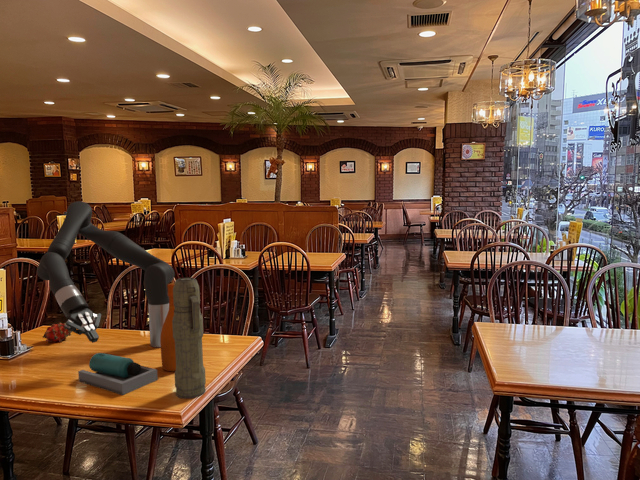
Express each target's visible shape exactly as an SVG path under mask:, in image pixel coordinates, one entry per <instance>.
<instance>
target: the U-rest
mask: <svg viewBox="0 0 640 480" xmlns="http://www.w3.org/2000/svg"><path fill="white" fill-rule="evenodd" d="M140 366H141V371H140V373H139V374H138V375H136V376H131V375H130V376H128V377H126V378H123V377H119V376H115V375H109V374H104V373H103V374H102V373H99V372H93V371H92V372H91V371H88V370H85V369H82V370H78V374H77V375H78V382H79V383H81V384H85V385H89V386H92V387H95V388H98V389H102V390H105V391H108V392H111V393H114V394H118V395H120V396H124V395H126V393H127V394H128V393H131V392H134V391H135V390H138V389H140V388H142V387H145V386H147V385H149V384H151V383H154V382H156V381H158V380H159V379H158V369H156V368H153V367H148V366H144V365H141V364H140Z"/></svg>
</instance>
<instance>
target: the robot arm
mask: <svg viewBox="0 0 640 480" xmlns="http://www.w3.org/2000/svg"><path fill="white" fill-rule="evenodd" d="M92 216H93V208H92V207H91V205H90V204H89V203H87V202H86V201H85V202H84V201H80V200H79V201H77V200H76V201H74V202H71V203H70V204H69V205H68V206H67V209H66V214H65V218H64V220H63V221H62V224H61V226H60V228H59V229H58V231H57V233H56V235H55V236H54V238H53V240H52V242H51V243H50V245H49V246H48V248H47V252H46V253H44V254H43V255H42V257H41V258H40V260H39V263H38V265H37V267H36V274H37V276H38V278H40V279H41V280H43V281H48V282H49V283H48V285H49V288H50V290H51V292H52V294H53V296H54V297H55V300H56V302H57V303H58V305H59V307H60V309H61V311H62V312H63V314H64V316H65V318H66V319H67V321H66V322H65V323H66V324H65V326H64V328H66V329H68V330H70V331H72V332H71V333H75V334H77V335H79V336H81V335H85V336H86V338H87V339H88V341H89V342H90V343H96V342H98V341H99V338H100V335H99V334H98V332H97V329H98V327H99V326H100V322H101V317H102V313H94V312H93V311H92V310H91V309H90V307H89V304H88V302H87V301H86V299H85V298H84V296H83V294H82V293H81V292H80V290H79V289H78V288H77V286H76V285H75V283H74V281H73V280H72V278H71V276H70V273H69V269H68V266H67V263H66V259H67V258H68V257H69V255H70V253H71V251H72V249H73V247H74V245H75V242H76V240H77V238H78V237H77V236H78V234H79V235H80V236H83V237H84V238H85V239H88V240H90V241H91V242H92V243H94V244H96V245H97V246H99V247H100V248H102V249H103V250H104V251H106V252H107V253H108V254H110V255H111V256H113V257H114V258H116V259H117V260H119V261H122V262H124V263H127V264H129V265H132V266H135V267H138V268H139V269H142V270H143V271H144V276H143V277H144V278H143V282H144V292H145V297H146V299H147V304H148V305H147V306H148V320H149V322H148V323H149V325H148V326H149V343H150V344H149V345H150V346H151V347H153V348H161V344H160V336H161V331H162V327H163V324H164V322H165V319H166V316H167V314H168V310H169V296H168V284H170V283H172V281H174V279H175V275H176V274H175V270H174V268H173V267H172V266H171V265H170V264H169V263H168V262H166V261H164V260H162V259H160V258H159V257H157V256H155V255H153V254H151V253H150V252H149V251H147V250H145V249H144V248H143V247H141V246H140V245H139V244H137V243H136V242H134V241H133V240H131V239H130V238H129V237H127V236H126V235H124V234H123V233H121V232H119V231H116V230H115V231H114V230H103V229H101V228H98V227H97V226H96V225H95V224H93V223H92V222H91V221H92Z"/></svg>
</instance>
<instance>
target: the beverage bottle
mask: <svg viewBox="0 0 640 480" xmlns="http://www.w3.org/2000/svg"><path fill="white" fill-rule="evenodd" d="M88 364H89V365H88V366H89V369H90V370H91V371H92V373H96V372H99V373H102V374H103V373H104V374H109V375H115V376H119V377H123V378H126V377H128V376H130V375H131V376H136V375H138V374H139V373H140V371H141V366H142V365H141V364H140V363H137V362H134V360H133V359H132V358H130V357H123V356H119V355H115V354H114V355H113V354H109V353H106V352H105V353H104V352H97V353H95V354H93V355H92V356H91V358H90V359H89V363H88ZM140 365H141V366H140Z"/></svg>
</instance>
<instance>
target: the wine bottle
mask: <svg viewBox="0 0 640 480" xmlns="http://www.w3.org/2000/svg"><path fill="white" fill-rule="evenodd" d="M174 284H175V282H170V283H168V284H167V292H168V296H169V310H168V314H167V316H166V319H165V322H164V324H163V327H162V331H161V336H160V344H161V347H160V356H161V357H160V358H161V367H162V368H163V370H165V371H166V372H175V371H176V354H175V340H174V338H173V326H172V320H173V316H174V310H175V308H174V302H173V288H174Z"/></svg>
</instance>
